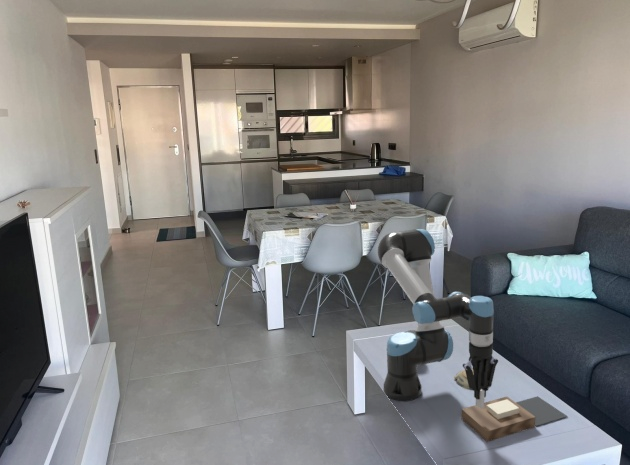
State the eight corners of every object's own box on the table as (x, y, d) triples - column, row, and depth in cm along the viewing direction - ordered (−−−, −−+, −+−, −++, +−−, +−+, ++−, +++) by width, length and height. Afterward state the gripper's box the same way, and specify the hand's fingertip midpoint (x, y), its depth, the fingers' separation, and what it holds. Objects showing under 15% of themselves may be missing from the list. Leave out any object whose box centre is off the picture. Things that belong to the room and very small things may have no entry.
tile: (497, 419, 165) (497, 414, 165) (486, 410, 171) (486, 404, 170) (518, 413, 168) (519, 408, 167) (506, 404, 173) (507, 399, 173)
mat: (536, 426, 166) (536, 425, 166) (507, 405, 179) (507, 404, 179) (567, 417, 171) (567, 416, 170) (537, 397, 184) (537, 396, 183)
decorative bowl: (500, 386, 193) (476, 369, 207) (500, 378, 192) (476, 361, 206) (468, 395, 188) (446, 376, 202) (468, 387, 188) (446, 369, 202)
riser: (487, 441, 160) (487, 431, 159) (461, 418, 173) (461, 409, 172) (534, 427, 166) (535, 416, 165) (506, 406, 179) (507, 396, 178)
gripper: (471, 350, 154) (470, 416, 159) (504, 343, 158) (502, 407, 163) (457, 341, 161) (457, 405, 166) (489, 334, 165) (488, 396, 170)
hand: (479, 406), depth 165 cm, fingers closed
